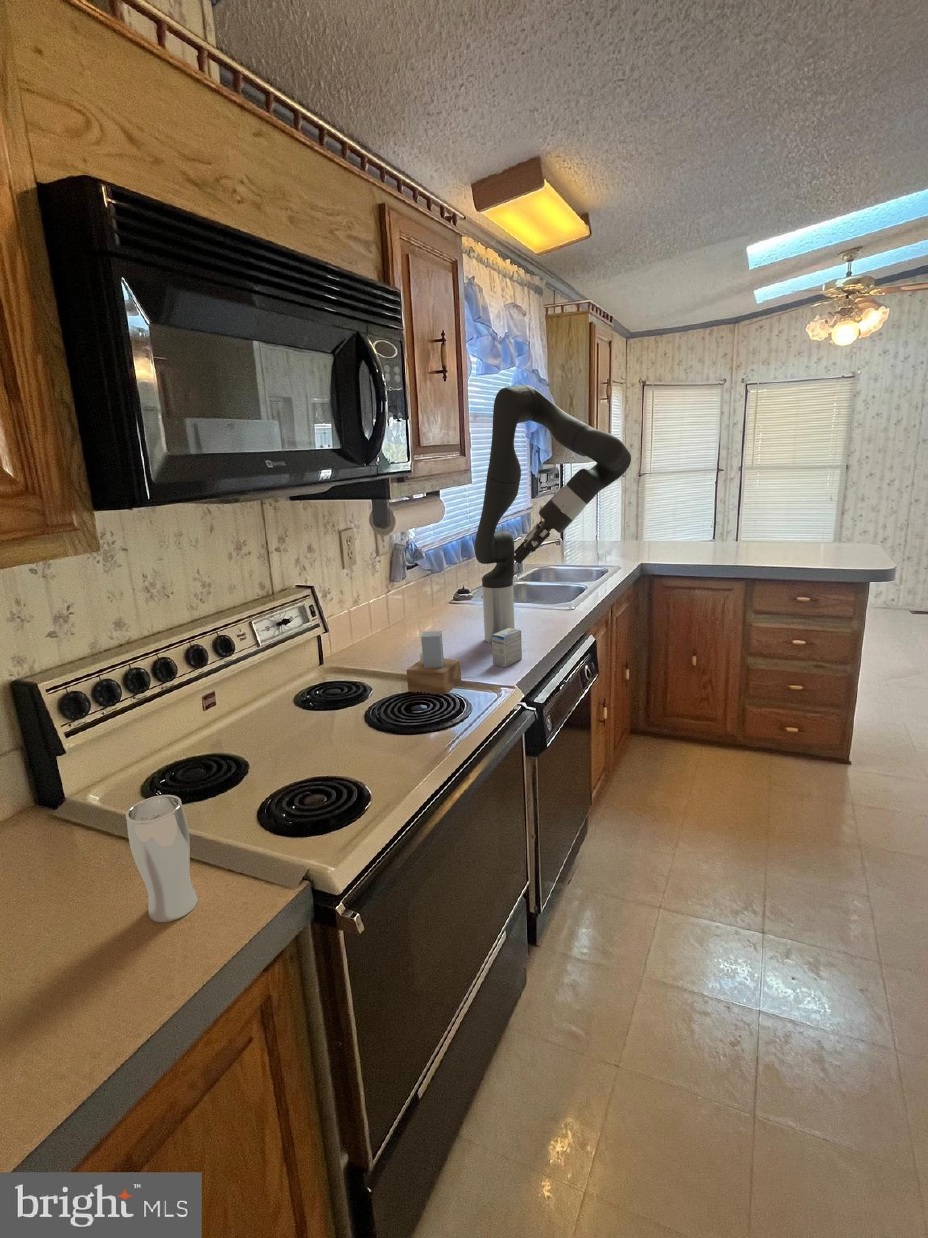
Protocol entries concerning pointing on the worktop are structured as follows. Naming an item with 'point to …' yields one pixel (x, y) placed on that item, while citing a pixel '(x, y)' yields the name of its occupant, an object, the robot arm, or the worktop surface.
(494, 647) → the medicine box
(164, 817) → the beer glass
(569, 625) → the worktop surface
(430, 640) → the slate-blue block
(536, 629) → the worktop surface
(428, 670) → the walnut block
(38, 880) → the worktop surface
